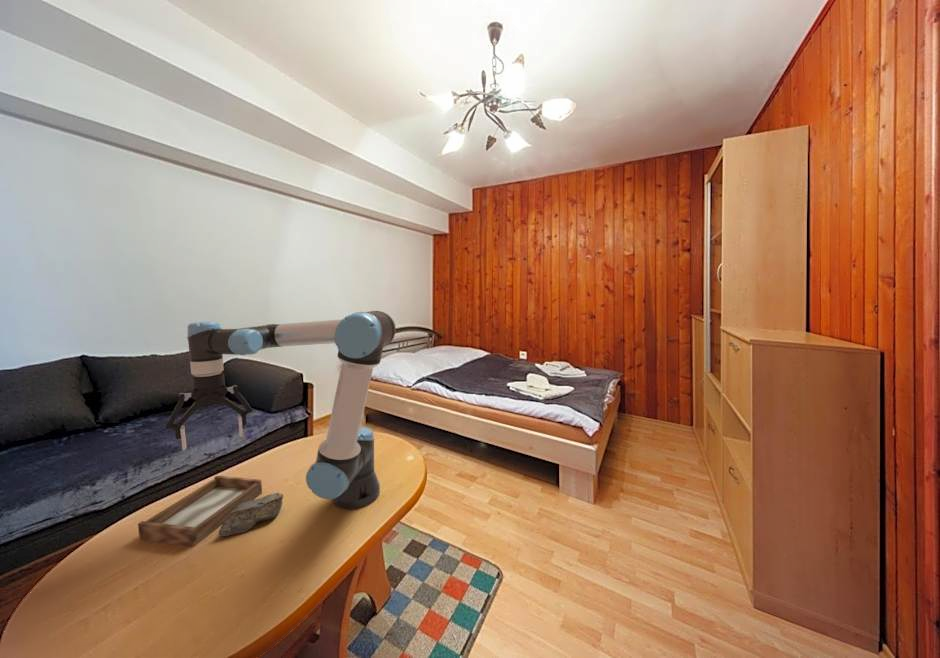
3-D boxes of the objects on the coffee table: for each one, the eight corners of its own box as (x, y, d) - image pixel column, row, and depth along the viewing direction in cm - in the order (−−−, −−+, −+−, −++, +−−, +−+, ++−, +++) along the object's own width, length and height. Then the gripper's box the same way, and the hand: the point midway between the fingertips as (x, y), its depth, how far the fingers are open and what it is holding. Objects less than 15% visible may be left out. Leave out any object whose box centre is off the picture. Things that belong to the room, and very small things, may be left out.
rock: (277, 487, 106) (289, 491, 100) (279, 508, 105) (291, 514, 99) (212, 512, 93) (221, 518, 87) (214, 536, 92) (223, 545, 86)
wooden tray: (262, 493, 110) (261, 479, 110) (193, 546, 87) (192, 530, 86) (217, 488, 112) (217, 475, 112) (139, 539, 89) (138, 523, 88)
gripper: (256, 365, 107) (260, 427, 109) (151, 378, 91) (159, 449, 93) (259, 369, 101) (263, 434, 103) (147, 383, 85) (155, 459, 87)
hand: (214, 441), depth 98 cm, fingers open, 13 cm apart
